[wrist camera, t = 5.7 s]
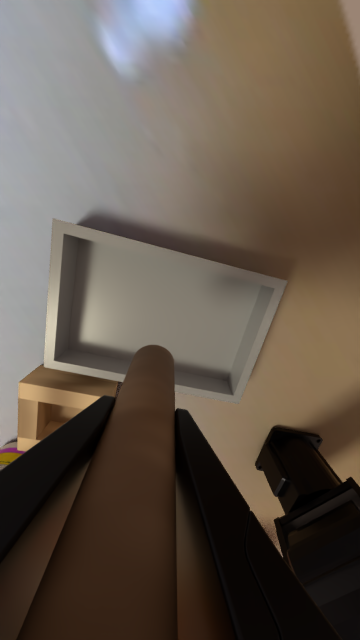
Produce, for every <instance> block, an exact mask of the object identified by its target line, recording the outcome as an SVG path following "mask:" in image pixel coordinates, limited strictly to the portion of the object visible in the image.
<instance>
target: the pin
mask: <svg viewBox="0 0 360 640" xmlns="http://www.w3.org/2000/svg"><path fill="white" fill-rule="evenodd" d="M16 640H178V626H177V543H176V460H175V377H174V358H173V356H172V354H171V353H170V352H169V351H168V350H167V349H166V348H164V347H162V346H159V345H147V346H144V347H142V348H140V349H139V350H138V351H137V352H136V353H135V355H134V357H133V359H132V362H131V364H130V367H129V369H128V371H127V374H126V376H125V379H124V381H123V384H122V386H121V388H120V391H119V393H118V396H117V398H116V400H115V403H114V405H113V408H112V410H111V413H110V415H109V418H108V420H107V422H106V425H105V427H104V430H103V432H102V434H101V437H100V439H99V441H98V444H97V446H96V449H95V451H94V453H93V456H92V458H91V461H90V463H89V466H88V468H87V470H86V473H85V475H84V478H83V480H82V482H81V485H80V487H79V490H78V492H77V494H76V497H75V499H74V502H73V504H72V507H71V509H70V511H69V514H68V516H67V519H66V521H65V523H64V526H63V528H62V531H61V533H60V535H59V538H58V540H57V543H56V545H55V548H54V550H53V552H52V555H51V557H50V560H49V562H48V564H47V567H46V569H45V572H44V574H43V576H42V579H41V581H40V584H39V586H38V588H37V591H36V593H35V596H34V598H33V601H32V603H31V605H30V608H29V610H28V613H27V615H26V617H25V620H24V622H23V625H22V627H21V629H20V632H19V634H18V637H17V639H16Z"/></svg>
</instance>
